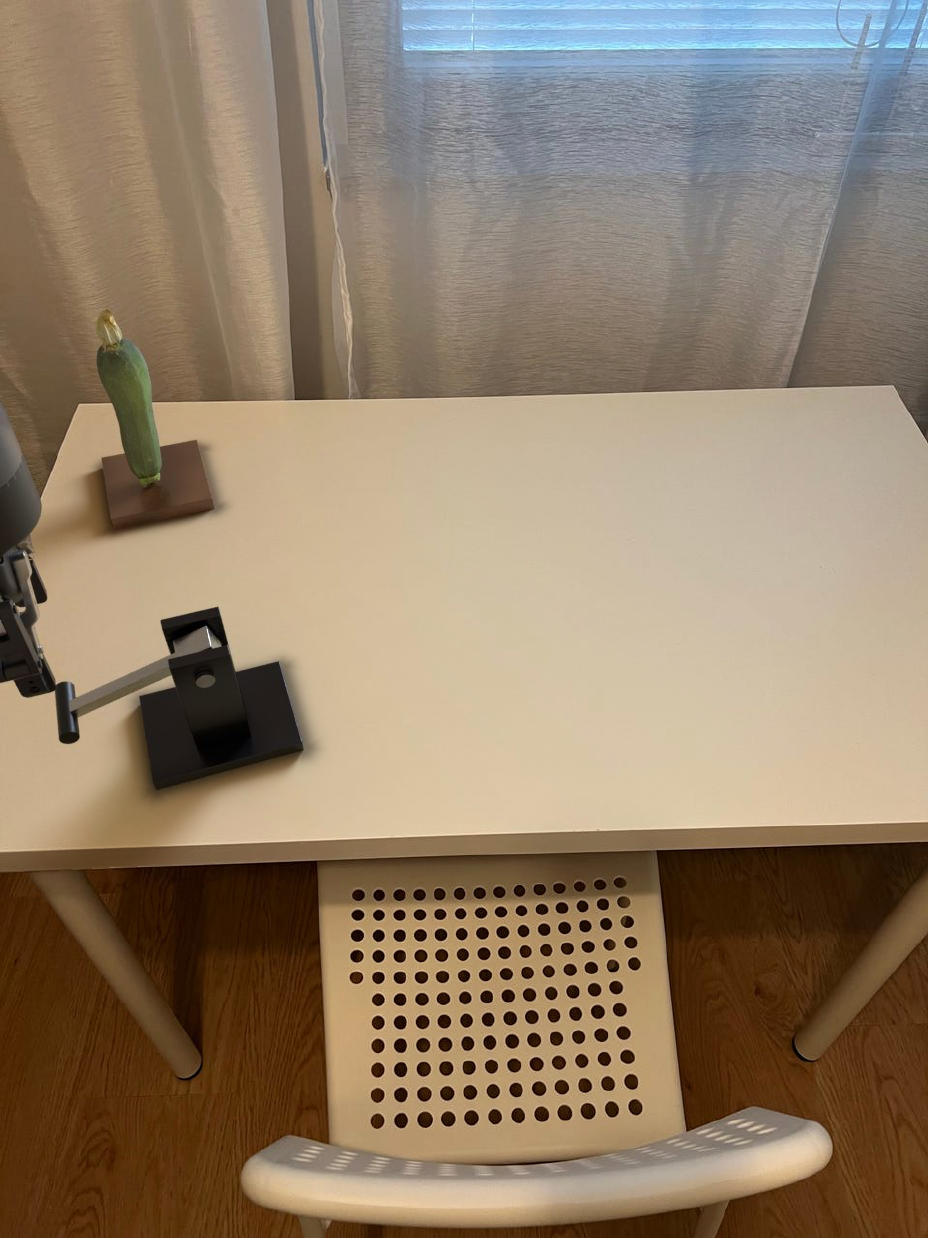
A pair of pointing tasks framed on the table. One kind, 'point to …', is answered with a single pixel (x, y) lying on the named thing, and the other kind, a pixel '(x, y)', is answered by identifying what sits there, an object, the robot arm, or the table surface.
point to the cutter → (215, 710)
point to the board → (158, 487)
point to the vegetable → (129, 398)
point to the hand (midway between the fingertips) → (36, 644)
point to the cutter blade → (122, 684)
